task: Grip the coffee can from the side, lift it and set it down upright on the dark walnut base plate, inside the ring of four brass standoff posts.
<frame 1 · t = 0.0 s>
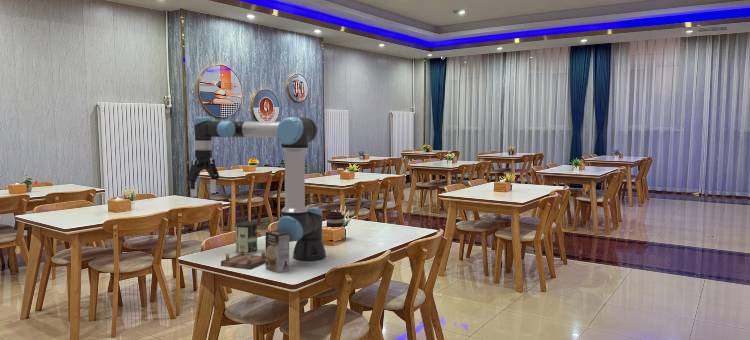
hand: (203, 194, 250), 28 cm above the table, tool pointing down, fingers open, 13 cm apart
standoff plate: (245, 263, 234), on the table
coffee box: (277, 270, 225), on the table
coffee cup: (334, 240, 284), on the table
coffee can: (246, 252, 255), on the table
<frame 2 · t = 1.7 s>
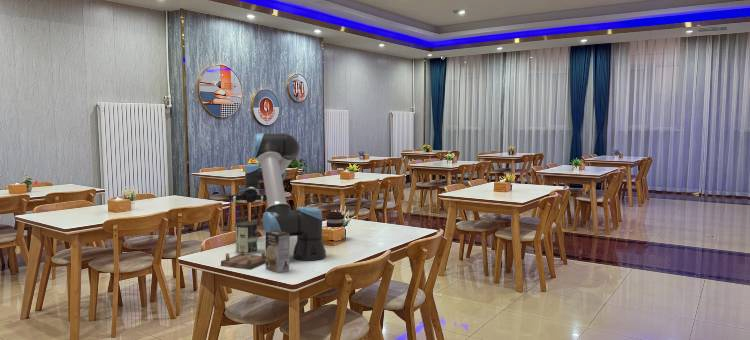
hand: (247, 200, 262), 24 cm above the table, tool horizontal, fingers open, 13 cm apart
nothing on the table moved.
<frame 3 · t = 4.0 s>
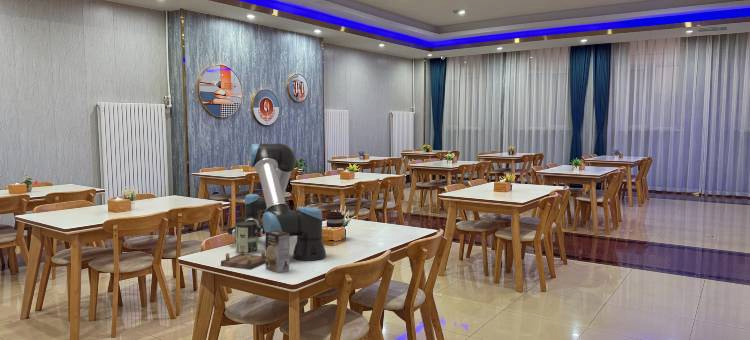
hand: (247, 234, 261), 7 cm above the table, tool horizontal, fingers open, 13 cm apart
nothing on the table moved.
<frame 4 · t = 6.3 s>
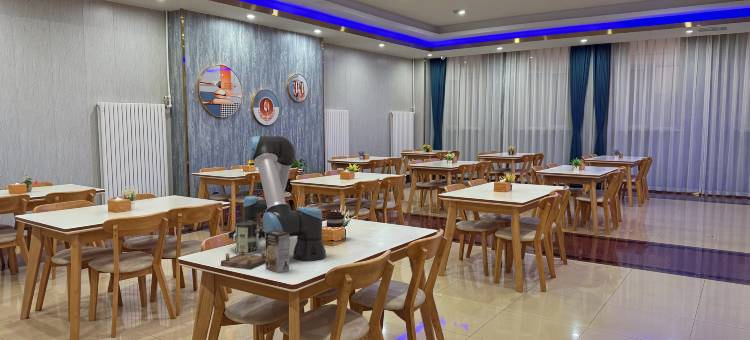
hand: (245, 238, 250), 8 cm above the table, tool horizontal, fingers closed on coffee can, 10 cm apart
coffee can: (246, 252, 255), on the table, touching gripper
everything else where it was.
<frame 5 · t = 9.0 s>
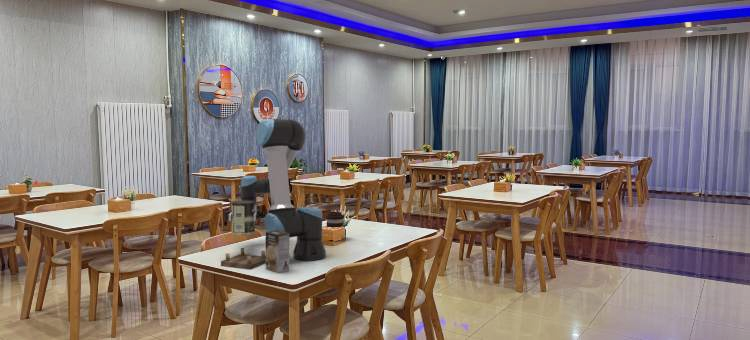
hand: (242, 217, 234), 20 cm above the table, tool horizontal, fingers closed on coffee can, 10 cm apart
coffee can: (243, 233, 238), point 12 cm above the table, touching gripper
everything else where it was.
when the fingers open (11 cm above the table, at t = 12.1 s): coffee can drops 1 cm, resting on standoff plate.
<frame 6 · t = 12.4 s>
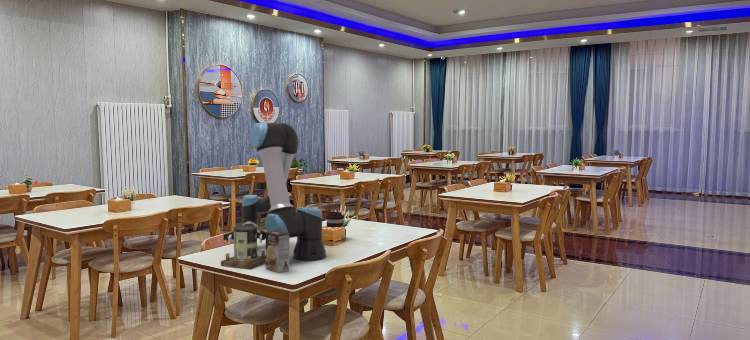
hand: (244, 240, 229), 11 cm above the table, tool horizontal, fingers open, 13 cm apart
coffee can: (245, 259, 234), point 2 cm above the table, touching standoff plate
everything else where it was.
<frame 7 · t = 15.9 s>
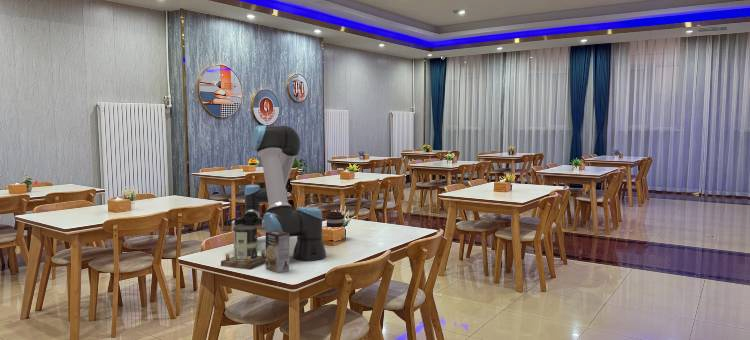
hand: (247, 225, 244), 15 cm above the table, tool horizontal, fingers open, 13 cm apart
nothing on the table moved.
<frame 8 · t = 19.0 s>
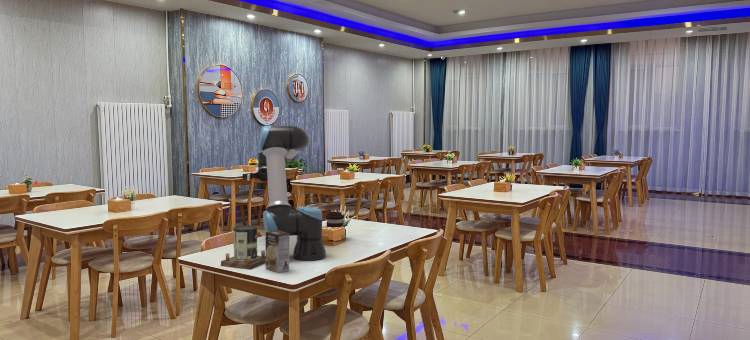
hand: (262, 177, 262), 35 cm above the table, tool horizontal, fingers open, 13 cm apart
nothing on the table moved.
at the end: coffee can 0.1 cm off-centre on the standoff plate, point 1.8 cm above the standoff plate's base; coffee can tilted 0°; the gripper is holding nothing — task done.
